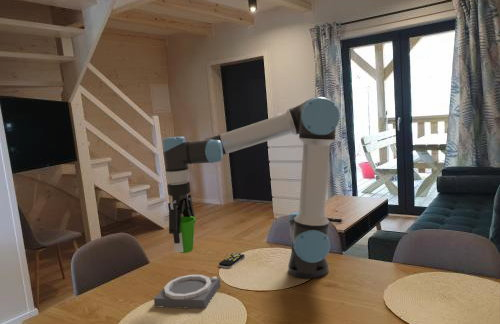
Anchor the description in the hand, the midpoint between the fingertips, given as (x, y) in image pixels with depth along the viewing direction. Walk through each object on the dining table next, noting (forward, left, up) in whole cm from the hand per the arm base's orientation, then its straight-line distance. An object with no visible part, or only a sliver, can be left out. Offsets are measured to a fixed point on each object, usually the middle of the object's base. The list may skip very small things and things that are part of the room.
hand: (185, 246), depth 127 cm
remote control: (-6, -30, -19) cm, 36 cm away
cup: (0, 0, -2) cm, 2 cm away
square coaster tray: (+1, 0, -18) cm, 18 cm away
